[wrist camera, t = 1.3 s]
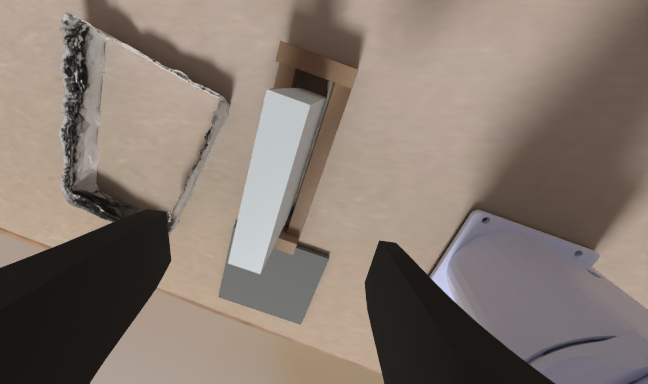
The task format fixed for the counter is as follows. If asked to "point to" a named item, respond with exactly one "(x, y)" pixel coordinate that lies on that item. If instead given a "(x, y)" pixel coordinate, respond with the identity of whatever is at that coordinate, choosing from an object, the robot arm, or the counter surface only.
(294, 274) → the mat
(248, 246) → the board
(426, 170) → the counter surface
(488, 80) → the counter surface
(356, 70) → the rack
